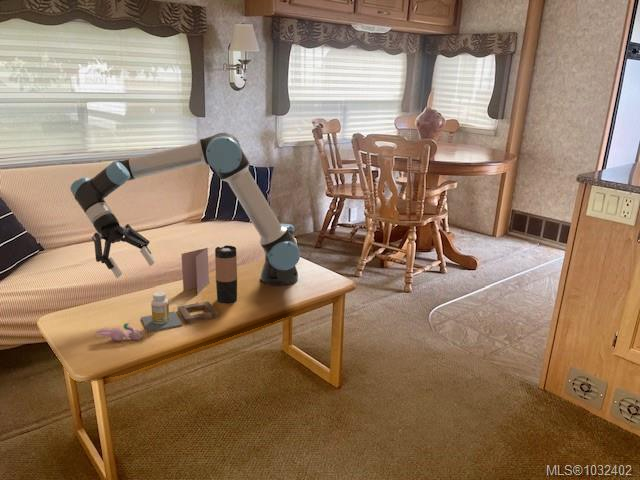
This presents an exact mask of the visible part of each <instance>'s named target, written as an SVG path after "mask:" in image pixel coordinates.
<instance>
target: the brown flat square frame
mask: <svg viewBox="0 0 640 480" xmlns="http://www.w3.org/2000/svg"><path fill="white" fill-rule="evenodd" d="M201 310H205V312H203V313H197V314H190V312H193V311H201ZM177 312H178V313H179V315H180V318H182V319H183V322H184V323H185V324H193V323H197V322H201V321H209V320H212V319H218V318H219V313H218V311H217V310H216V309H215V307H214V306H213V305H212V304H211V302H210V301H209V300H207V301H203V302H202V301H201V302H196V303H195V302H194V303H190V304H185V305H179V306H177Z"/></svg>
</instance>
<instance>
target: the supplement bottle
mask: <svg viewBox="0 0 640 480" xmlns="http://www.w3.org/2000/svg"><path fill="white" fill-rule="evenodd" d="M166 297H167V293H166V292H164V291H156V292H154V293H153V294H152V298H153V299H152V300H151V302H150V303H151V305H150V306H151V315H152V320H153V322H154V323H156V324H164V323H166V322H168V321H169V312H170V307H169V300H168V298H166Z"/></svg>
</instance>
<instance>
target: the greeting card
mask: <svg viewBox="0 0 640 480" xmlns="http://www.w3.org/2000/svg"><path fill="white" fill-rule="evenodd" d="M208 249H209V248H208V247H205V248H201V249H200V248H199V249H196V250H192V251H188V252H184V253H181V254H180V255H181V270H182V271H181V272H182V287H183V291H188V290H192V289H195V288H196V289H197V291H196V292H197V295H199V294H200V293H201V292H202V291H203V290H204V289H206V287H207V286H208V285H209V284H210V277H209V276H210V275H209V274H210V273H209V253H208V252H209V250H208Z"/></svg>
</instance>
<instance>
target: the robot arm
mask: <svg viewBox="0 0 640 480" xmlns="http://www.w3.org/2000/svg"><path fill="white" fill-rule="evenodd" d="M202 164H203V165H205V166H210V167H211V168H212V169H213V170H215V172H216V174H217V176H218V178H219V179H220V180H221V181H224V182H226V183H228V186H229V187H230V189H231V190H232V192H233V194H234V195H235V197H236V198H237V200H238V201H239V203H240V205H241V207H242V208H243V210H244V211H245V213H246V215H247V217H248V218H249V220H250V222H251V223H252V225H253V227H254V229H255V230H256V232H257V233H258V235H259V236H260V240H259V244H260V245H261V247H262V249H263V250H264V253H265V254H264V263H263V266H262V268H261V269H262V270H261V273H260V280H261V281H262V283H264V284H267V285H271V286H278V287H279V286H289V285H292V284H294V283H296V282H297V281H298V280H299V273H298V270H297V267H296V265H298V263H299V261H300V257H301V250H300V247H299V246H298V243H297V242H296V239H295V226H294V225H292V224H289V223H280V222H279V220H278V218H277V216H276V214H275V213H274V211H273V209H272V208H271V206H270V204H269V203H268V201H267V199H266V197H265V195H264V194H263V192H262V191H261V189H260V186H259V185H258V184H257V181H256V180H255V179H254V177H253V175H252V174H251V173H252V172H250V170H249V168H250V162H249V160H248V158H247V156H246V155H245V153H244V151H243V150H242V147H241V144H240V143H239V140H238V139H237V138H236V137H235V136H234V135H233V134H231V133H227V132H220V133H216V134H213V135H211V136H209V137H205V138H201V139H199V140H197V142H196V143H191V144H187V145H183V146H179V147H175V148H174V147H173V148H169V149H165V150H161V151H157V152H152V153H148V154H144V155H139V156H135V157H131V158H128V159H123V160H121V159H119V160H115V161H112V162H111V163H110V164H109V165H107V166H106V167H104V169H102V170H100V172H99V173H97V174H96V175H95V176H93V178H89V177H80V178H79V179H75V181H73V183H71V185H70V192H71V193H72V195H73V198H74V199H75V201H76V202H77V203H78V205H79V206H80V208H81V209H82V211H83V212H84V213H85V215H86V218H87V219H88V220H89V221H90V223H91V224H92V226H93V227H94V229H95V231H96V232H95V233H94V234H93V235H92V237H91V239H92V242H94V253H95V254H94V255H95V261H96V262H97V263H100V262H101V264H105V266H106V267H107V268H108V269H109V270H111V272H112V273H113V275H114V276H115V278H116V279H119V278H120V277H121V275H122V274H123V272H122V271H121V269H120V268H119V266H118V265H117V263H116V262H115V260H114V258H113V257H112V256H110V251H111V246H112V245H113V244H115V243H119V242H122V243H124V242H125V243H127V244H129V245H132V246H134V247H136V248H138V249H139V252H140V253H141V255H142V256H143V258H144V259H145V261H146V262H147V264H148V265H149V267H151V266H153V265H154V264H155V262H156V260H155V259H154V257H153V256H152V252H151V250H150V249H149V247H148V246H149V244H150V240H149V239H147V238H146V237H144V235H142V234H141V233H139V232H137V231H136V230H135V229H133V228H132V226H131V225H130V224H129V223H126V225H125V226H122V225H120V222H119V220H118V219H117V217H116V215H115V214H114V213H113V211H112V209H111V208H110V206H109V205H108V204H107V202H106V201H105V199H106V198H107V197H108V196H109V195H110V194H112V193H113V192H115V191H117V190H118V189H119V188H120V187H121V186H122V185H124V184H125V183H127V182H129V181H132V180H135V179H136V180H137V179H140V178H145V177H149V176H153V175H158V174H162V173H166V172H171V171H176V170H179V169H184V168H188V167H192V166H193V167H194V166H197V165H202ZM101 239H102V240H105V242H104V247H103V246H102V240H101ZM109 256H110V257H109ZM108 269H107V270H108Z"/></svg>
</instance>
